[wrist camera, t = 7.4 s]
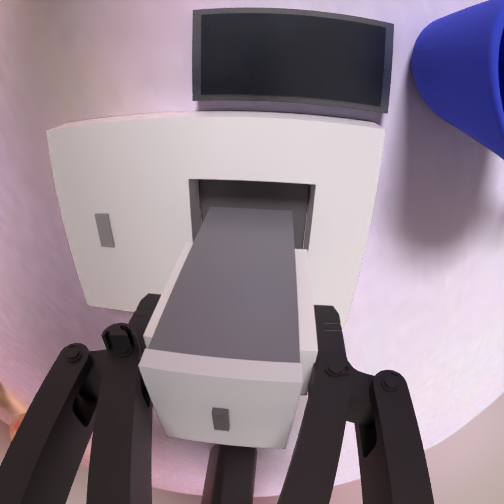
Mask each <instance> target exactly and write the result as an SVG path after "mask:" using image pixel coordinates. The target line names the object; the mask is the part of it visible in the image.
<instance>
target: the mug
mask: <svg viewBox="0 0 504 504" xmlns="http://www.w3.org/2000/svg"><path fill="white" fill-rule="evenodd" d="M412 70H413V76H414V79H415V83H416V85H417V88H418V90H419V92H420V94H421V96H422V97H423V99H424V100H425V102H426V103H427V104H428V106H429V107H430V108H431V109H432V110H433V111H434V112H435V113H436V114H437V115H438V116H439V117H441V118H442V119H444V120H445V121H447V122H448V123H450V124H452V125H453V126H455V127H456V128H458V129H460V130H461V131H463V132H464V133H466V134H467V135H469V136H471V137H472V138H474V139H475V140H477V141H478V142H480V143H481V144H483V145H484V146H485V147H487V148H488V149H490V150H491V151H493V152H494V153H495V154H497V155H498V156H499V157H501V158H502V159H504V0H489V1H486V2H483V3H480V4H477V5H474V6H471V7H468V8H466V9H463V10H460V11H458V12H455V13H452V14H450V15H447V16H445V17H442V18H440V19H437V20H435V21H434V22H432V23H430V24H429V25H428V26H427V27H426V28H425V29H424V30H423V31H422V32H421V33H420V35H419V36H418V38H417V40H416V42H415V45H414V48H413V53H412Z"/></svg>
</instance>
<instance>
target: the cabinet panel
mask: <svg viewBox="0 0 504 504" xmlns="http://www.w3.org/2000/svg"><path fill="white" fill-rule="evenodd" d="M385 133H386V129H384V128H382V127H381V126H379V125H378V124H376V123H374V122H370V121H363V120H355V119H347V118H339V117H329V116H319V115H308V114H295V113H279V112H256V111H186V112H164V113H148V114H135V115H124V116H114V117H105V118H97V119H89V120H81V121H75V122H68V123H65V124H62V125H60V126H57V127H55V128H52V129H50V130H47V131H46V135H47V142H48V149H49V156H50V162H51V168H52V173H53V179H54V184H55V189H56V194H57V199H58V203H59V208H60V212H61V216H62V220H63V224H64V228H65V232H66V236H67V240H68V244H69V247H70V251H71V254H72V258H73V261H74V265H75V268H76V271H77V274H78V278H79V281H80V284H81V287H82V290H83V293H84V296H85V299H86V302H87V305H88V306H94V307H101V308H108V309H115V310H122V311H130V312H135V310H136V309H137V306H138V304H139V302H140V300H141V299H142V298H144V297H145V296H146V295H147V294H148V293H151V294H161V295H162V293H163V291H164V288H165V286H166V284H167V282H168V280H169V278H170V276H171V274H172V271H173V269H174V267H175V265H176V263H177V261H178V259H179V257H180V255H181V253H182V251H183V249H184V247H185V245H186V243H193V242H194V240H195V238H196V236H197V234H198V232H199V230H200V227H201V214H202V223H203V221H204V219H205V217H206V215H207V213H208V210H209V208H210V207H229V208H250V209H269V210H286V211H292V216H293V230H294V245H295V249H303V240H304V231H305V222H306V212H307V203H308V193H309V184H311V185H310V195H309V205H308V214H307V223H306V232H305V241H304V249H307V251H308V259H309V268H310V276H311V285H312V294H313V304H314V305H330V306H334V308H335V309H336V310H337V312H338V313H339V317H340V322H341V323H340V324H341V328H345V326H346V323H347V319H348V315H349V312H350V308H351V304H352V301H353V297H354V293H355V289H356V285H357V281H358V277H359V273H360V269H361V265H362V260H363V256H364V252H365V247H366V242H367V238H368V233H369V228H370V223H371V218H372V213H373V208H374V203H375V197H376V192H377V186H378V180H379V174H380V168H381V161H382V155H383V148H384V140H385ZM199 179H200V189H199ZM200 194H201V210H200Z"/></svg>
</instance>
